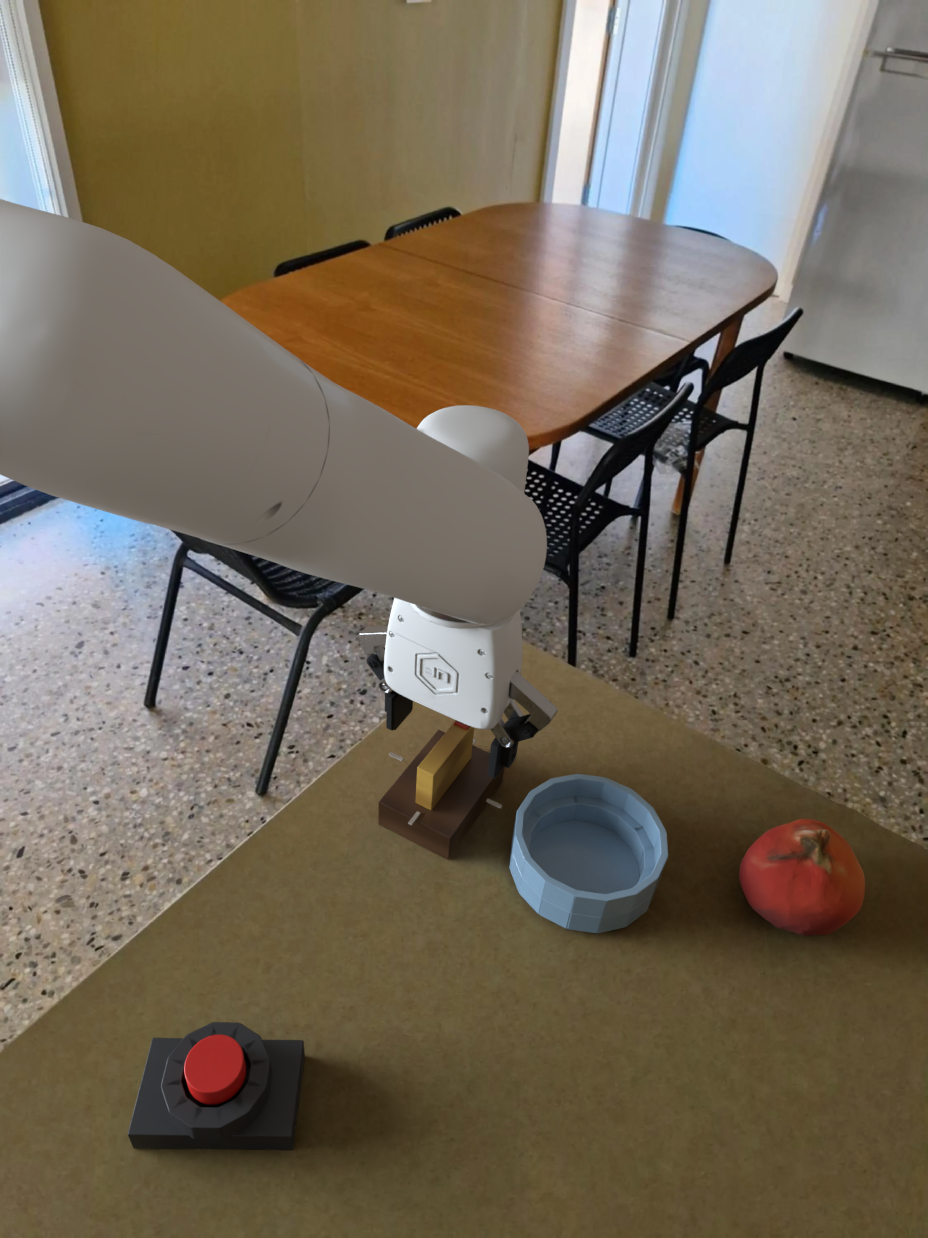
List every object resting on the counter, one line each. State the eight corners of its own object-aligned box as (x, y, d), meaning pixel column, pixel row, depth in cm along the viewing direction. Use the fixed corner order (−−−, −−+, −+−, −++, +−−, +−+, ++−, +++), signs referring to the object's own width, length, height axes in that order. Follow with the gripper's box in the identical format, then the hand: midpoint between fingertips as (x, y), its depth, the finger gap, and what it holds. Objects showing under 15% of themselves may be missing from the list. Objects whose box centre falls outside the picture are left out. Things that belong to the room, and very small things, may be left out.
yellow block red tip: (431, 811, 74) (433, 773, 71) (415, 803, 75) (417, 765, 72) (471, 758, 79) (475, 720, 76) (455, 750, 80) (459, 713, 77)
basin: (623, 963, 68) (636, 927, 65) (483, 890, 72) (488, 853, 69) (674, 850, 76) (687, 813, 73) (546, 791, 81) (554, 754, 77)
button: (181, 1105, 55) (177, 1093, 54) (194, 1046, 57) (191, 1033, 56) (240, 1106, 55) (238, 1093, 54) (250, 1047, 58) (248, 1034, 57)
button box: (132, 1153, 56) (120, 1127, 53) (158, 1049, 61) (149, 1020, 58) (292, 1155, 56) (289, 1129, 54) (305, 1051, 61) (302, 1023, 59)
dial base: (466, 877, 73) (469, 853, 71) (353, 818, 77) (353, 795, 75) (526, 787, 81) (530, 764, 79) (421, 738, 85) (422, 715, 83)
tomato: (857, 890, 75) (892, 831, 70) (833, 977, 68) (870, 919, 63) (749, 840, 78) (775, 780, 73) (717, 919, 72) (743, 859, 66)
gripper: (330, 565, 64) (337, 729, 75) (548, 653, 58) (521, 817, 69) (387, 517, 69) (386, 677, 80) (592, 594, 63) (560, 755, 74)
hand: (448, 742), depth 74 cm, fingers open, 9 cm apart
